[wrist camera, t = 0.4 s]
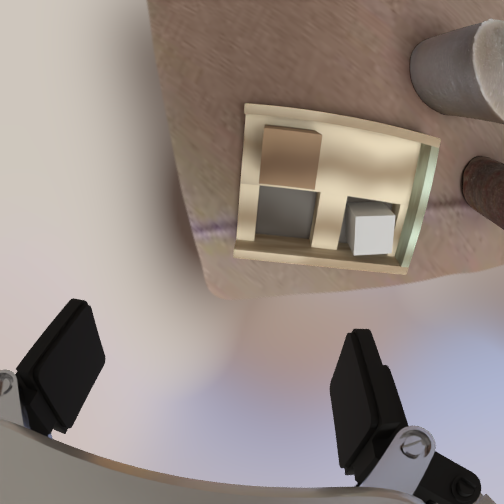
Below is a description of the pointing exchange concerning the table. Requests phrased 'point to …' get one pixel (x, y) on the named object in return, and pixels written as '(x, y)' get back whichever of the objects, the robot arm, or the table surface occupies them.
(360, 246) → the trapped grey block
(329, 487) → the robot arm
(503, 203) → the brown wooden cylinder
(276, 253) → the tray
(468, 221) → the table surface
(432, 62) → the pillar candle
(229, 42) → the table surface
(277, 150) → the walnut block
